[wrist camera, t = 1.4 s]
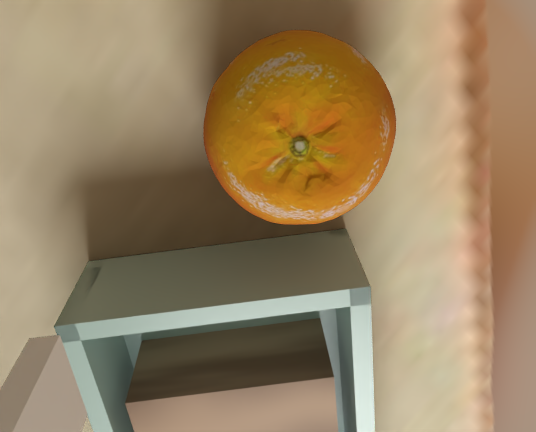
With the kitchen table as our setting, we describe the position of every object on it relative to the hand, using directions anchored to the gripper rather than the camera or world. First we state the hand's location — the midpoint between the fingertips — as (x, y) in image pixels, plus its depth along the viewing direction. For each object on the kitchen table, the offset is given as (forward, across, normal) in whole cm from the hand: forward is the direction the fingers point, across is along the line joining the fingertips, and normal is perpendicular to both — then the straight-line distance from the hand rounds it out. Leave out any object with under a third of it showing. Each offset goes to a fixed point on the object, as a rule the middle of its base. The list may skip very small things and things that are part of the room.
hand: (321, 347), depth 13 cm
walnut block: (+14, -4, -16) cm, 22 cm away
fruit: (+16, +1, +2) cm, 16 cm away
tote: (+15, -4, -16) cm, 22 cm away
